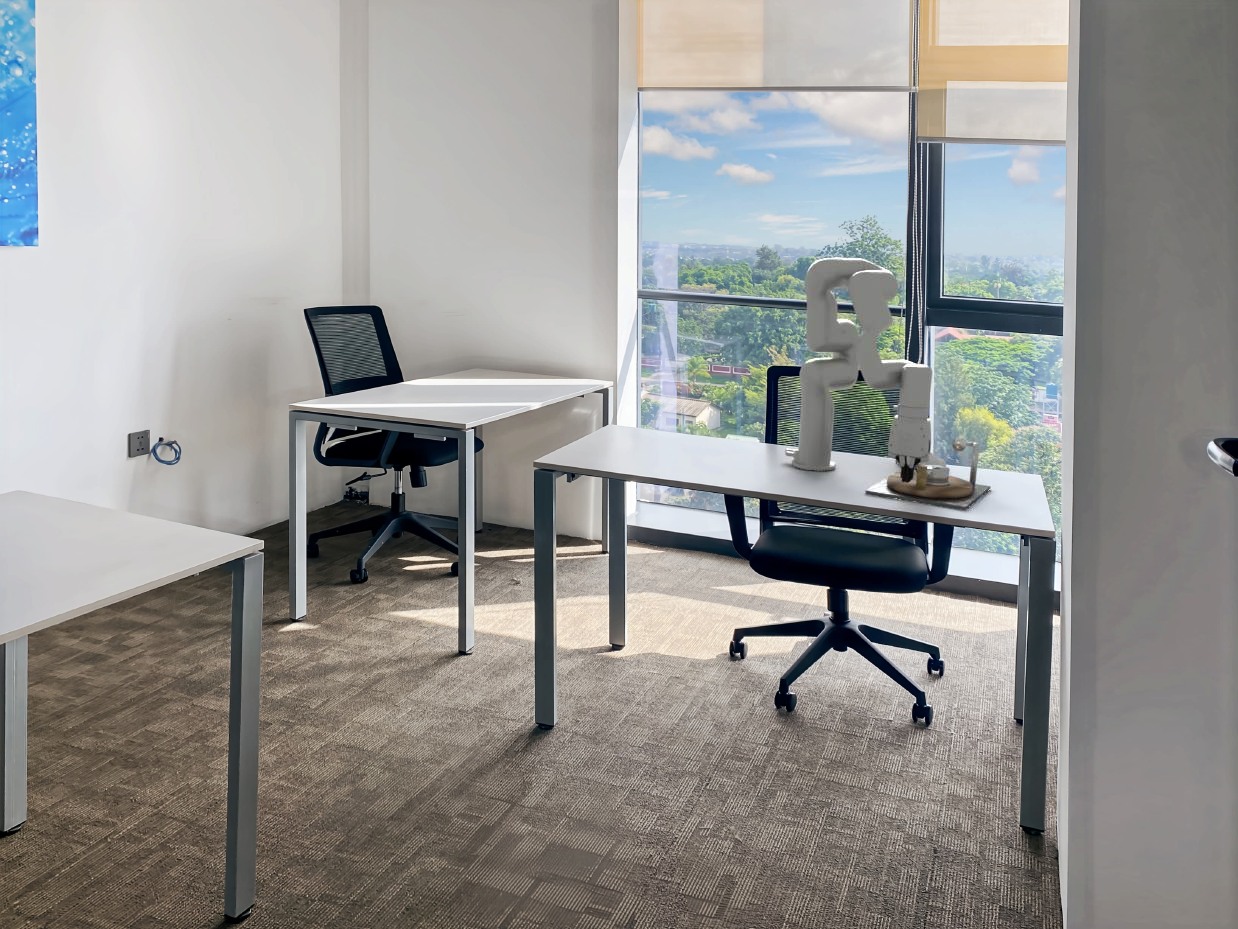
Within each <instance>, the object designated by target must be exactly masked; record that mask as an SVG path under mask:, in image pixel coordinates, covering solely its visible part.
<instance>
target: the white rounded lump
mask: <svg viewBox="0 0 1238 929" xmlns="http://www.w3.org/2000/svg"><path fill="white" fill-rule="evenodd" d="M929 457H930V461H928V462H923V463H919V464H917V465H916V466H915V467H917V470H918V466H924V465H939V466H945V467H947V462H946V461H945V460H944V459H942V458H939V457H936V456H935V455H934V454H933V452H931V451H930V454H929ZM910 458H911V457H907V462H908V465H909V462H910ZM917 470H915V469H914V472H917Z"/></svg>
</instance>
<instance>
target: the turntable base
mask: <svg viewBox="0 0 1238 929" xmlns="http://www.w3.org/2000/svg"><path fill="white" fill-rule="evenodd" d="M951 445H952V448H953V449H954V450H955V451H956V452H963V451H964V450H966V449H967V447H972V454H971V463H970V472H969V481H968V482H970V483H971V484H972V485H973V489H972V493H971V494H970V495H968V496H964V497H958V498H932V497H922V496H916V495H911V494H906V493H902V492H899V491H896V490H894V489H892V488H890V487H889V486H888V485H887V478H888V477H889V476H887V477H885V478H883V479H882V480H880V481H879V482H877V483H875V484H874V485H872V486H870V487H868V488H867V489H866V490H865V493H864V494H865V495H868V494H871V495H870V496H874V495H878V496H877V497H880V496H883V497H882V498H886V497H889V498H888V499H892V498H897V499H896V500H898V499H901V500H900V501H904V500H909V501H908V502H910V501H916V502H919V503H918V504H922V503H924V504H923V505H928V504H931V505H930V506H934V505H935V507H940V506H942V508H947V509H952V508H953V510H958V509H962V510H961V511H964V510H966V509H967V508H968V509H970V507H972V506H973V505H974V504H975V503H977V502H978V501H979V500H980V499H981V498H982V497H983V496H985V495H986V494H987V493H988V492H989V491H990V490H991V488H992V487H991V486H990V485H985V484H978V483H977V484H976V481H977V472H978V462H979V455H980V454H979V453H980V446H981V445H980V443H979V442H977V441H966V439H964V438H963V437H957V438H955V439H954V440H953V441H952V444H951ZM897 473H901V471H896V472H894V473H892V474H891V475H893V474H897ZM989 489H990V490H989ZM988 490H989V491H988ZM987 491H988V492H987ZM986 492H987V493H986ZM985 493H986V494H985ZM984 494H985V495H984ZM982 495H983V496H982ZM981 496H982V497H981ZM980 497H981V498H980ZM979 498H980V499H979ZM978 499H979V500H978ZM977 500H978V501H977ZM916 502H915V503H916ZM973 503H974V504H973ZM972 504H973V505H972ZM971 505H972V506H971ZM969 506H970V507H969ZM968 509H967V510H968ZM967 510H966V511H967Z"/></svg>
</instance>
